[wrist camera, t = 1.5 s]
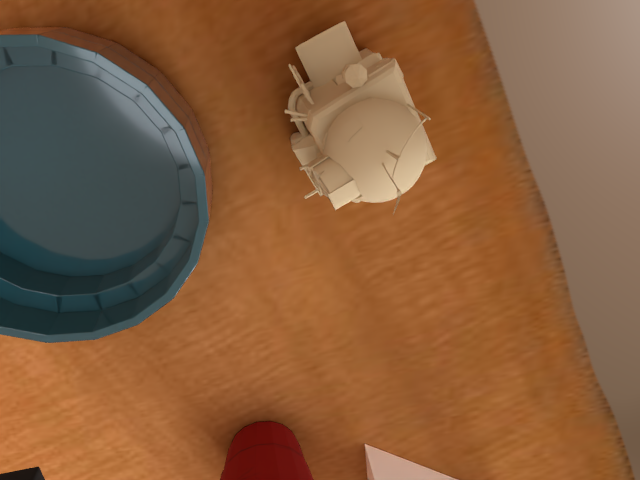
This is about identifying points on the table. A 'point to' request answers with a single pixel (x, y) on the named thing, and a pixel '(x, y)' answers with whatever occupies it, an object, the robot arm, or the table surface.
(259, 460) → the plastic cup
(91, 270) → the shallow teal bowl
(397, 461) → the white rectangular box
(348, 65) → the robot
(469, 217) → the table surface
